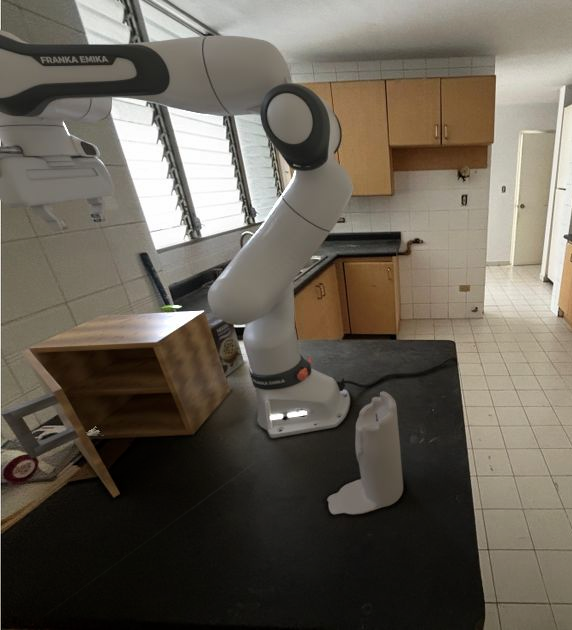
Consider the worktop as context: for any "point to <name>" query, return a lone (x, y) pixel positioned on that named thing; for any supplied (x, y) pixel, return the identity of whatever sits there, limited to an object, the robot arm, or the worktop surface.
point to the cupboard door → (66, 415)
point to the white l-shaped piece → (373, 461)
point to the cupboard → (138, 373)
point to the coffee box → (226, 344)
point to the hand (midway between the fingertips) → (82, 225)
